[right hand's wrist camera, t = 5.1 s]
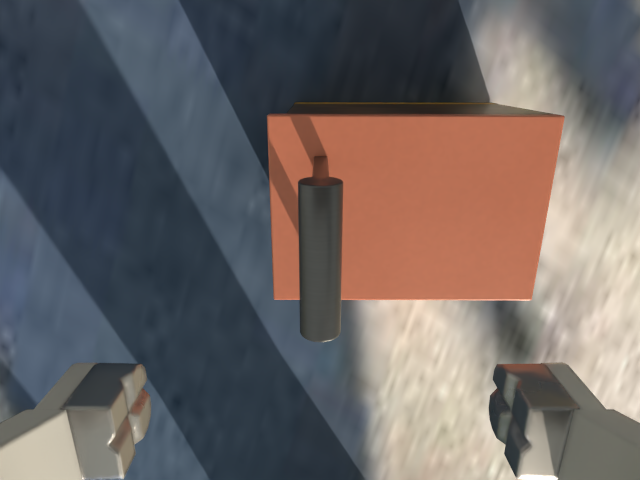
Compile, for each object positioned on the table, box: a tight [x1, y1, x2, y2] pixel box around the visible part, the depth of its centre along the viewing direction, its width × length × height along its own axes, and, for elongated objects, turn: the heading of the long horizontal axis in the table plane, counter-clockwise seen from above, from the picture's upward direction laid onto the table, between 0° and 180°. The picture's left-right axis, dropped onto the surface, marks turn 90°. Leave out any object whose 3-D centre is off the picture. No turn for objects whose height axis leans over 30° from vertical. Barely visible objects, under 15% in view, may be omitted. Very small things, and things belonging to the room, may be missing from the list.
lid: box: [267, 114, 564, 342], centre depth 21 cm, size 14×10×8 cm
